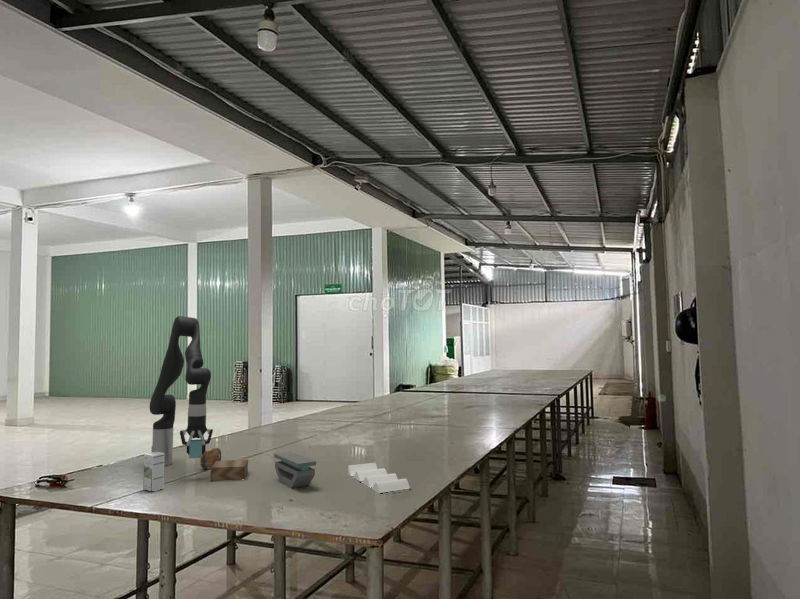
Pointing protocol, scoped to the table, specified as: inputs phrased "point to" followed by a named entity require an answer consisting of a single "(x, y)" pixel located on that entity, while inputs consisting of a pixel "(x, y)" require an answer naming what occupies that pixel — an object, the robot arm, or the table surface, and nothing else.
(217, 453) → the tin
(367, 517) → the table surface
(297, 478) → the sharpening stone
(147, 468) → the syrup box
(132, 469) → the table surface
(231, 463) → the walnut block
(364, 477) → the white corrugated sheet
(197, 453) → the teal block
